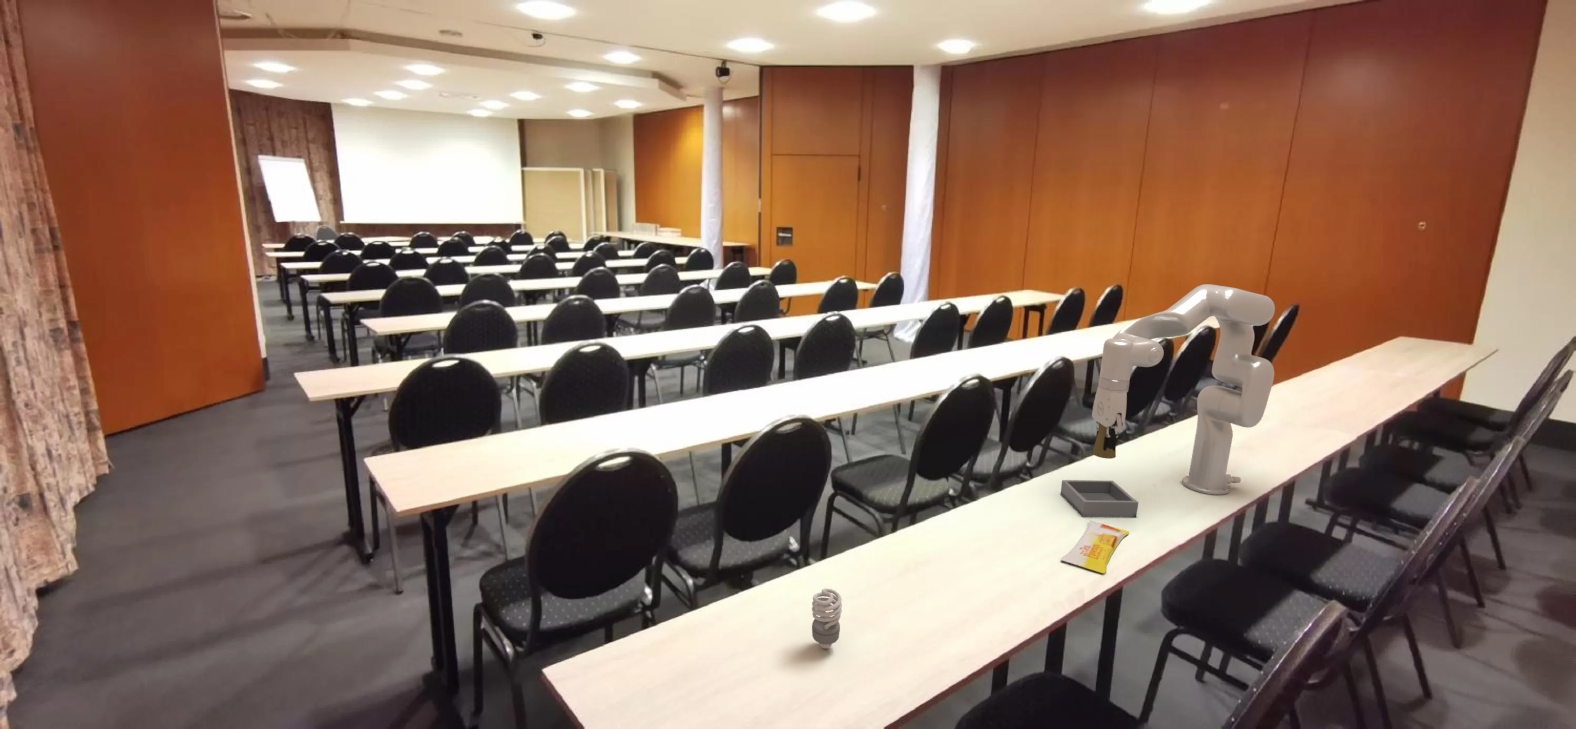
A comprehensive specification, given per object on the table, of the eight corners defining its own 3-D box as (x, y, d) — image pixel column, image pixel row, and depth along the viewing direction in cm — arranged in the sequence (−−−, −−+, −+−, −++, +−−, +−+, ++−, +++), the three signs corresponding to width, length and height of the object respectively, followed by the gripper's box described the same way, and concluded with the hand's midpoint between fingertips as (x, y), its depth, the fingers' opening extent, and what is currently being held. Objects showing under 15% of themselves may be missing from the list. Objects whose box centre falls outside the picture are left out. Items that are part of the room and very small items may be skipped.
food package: (1104, 569, 165) (1060, 555, 171) (1103, 578, 166) (1059, 564, 172) (1130, 527, 187) (1090, 516, 192) (1129, 535, 187) (1089, 524, 193)
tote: (1110, 494, 211) (1112, 480, 210) (1136, 517, 196) (1138, 502, 195) (1060, 494, 210) (1062, 480, 209) (1082, 517, 196) (1084, 501, 195)
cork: (1118, 459, 196) (1123, 421, 194) (1094, 457, 197) (1099, 419, 195) (1113, 451, 202) (1118, 414, 199) (1090, 449, 203) (1095, 412, 200)
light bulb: (808, 639, 140) (810, 584, 137) (837, 638, 140) (839, 583, 137) (812, 657, 134) (814, 600, 131) (841, 656, 135) (844, 599, 132)
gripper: (1086, 376, 203) (1078, 437, 207) (1114, 392, 187) (1105, 458, 191) (1112, 376, 203) (1104, 437, 207) (1142, 392, 187) (1133, 458, 191)
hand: (1105, 446), depth 199 cm, fingers closed on cork, 3 cm apart
